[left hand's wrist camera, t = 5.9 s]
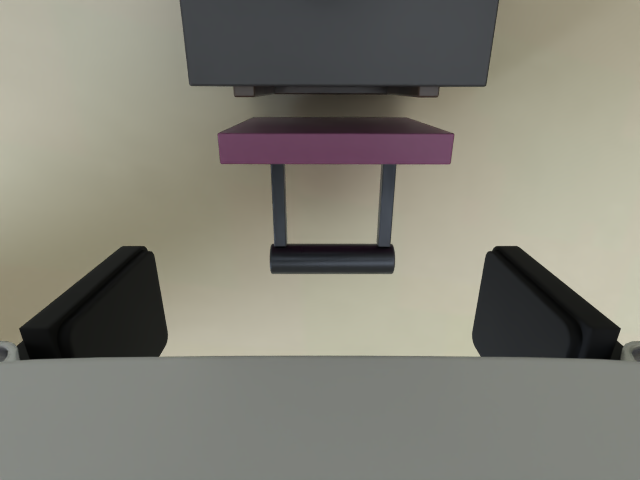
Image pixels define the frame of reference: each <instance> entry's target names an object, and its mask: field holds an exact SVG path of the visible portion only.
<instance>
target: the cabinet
mask: <svg viewBox="0 0 640 480" xmlns="http://www.w3.org/2000/svg"><path fill="white" fill-rule="evenodd" d="M498 3H499V0H180V7H181V16H182V24H183V33H184V42H185V51H186V59H187V68H188V77H189V84H190V86H388V87H484V86H486V83H487V77H488V70H489V63H490V57H491V50H492V43H493V37H494V30H495V23H496V17H497V10H498Z"/></svg>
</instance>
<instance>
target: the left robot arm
mask: <svg viewBox="0 0 640 480" xmlns="http://www.w3.org/2000/svg"><path fill="white" fill-rule="evenodd" d="M19 330H20V333H21V335H22V338H23V341H22V342H21V343H20V344H19V345H17V346H16V345H15V344H13V343H11V342H8V341H0V480H640V341H632V342H629V343H627V344H625V345H624V346H623V345H621V344H620V343H619V342H618V341H617V338H618V335H619V333H620V330H621V328H619V327H618V326H617V325H616V324H614V323H613V322H612V321H611V320H609V319H608V318H607V317H606V316H604V315H603V314H602V313H601V312H599V311H598V310H597V309H596V308H594V307H593V306H592V305H591V304H589V303H588V302H587V301H586V300H584V299H583V298H582V297H581V296H579V295H578V294H577V293H576V292H574V291H573V290H572V289H571V288H569V287H568V286H567V285H566V284H564V283H563V282H562V281H561V280H559V279H558V278H557V277H556V276H554V275H553V274H552V273H551V272H549V271H548V270H547V269H546V268H544V267H543V266H542V265H541V264H539V263H538V262H537V261H536V260H534V259H533V258H532V257H531V256H529V255H528V254H527V253H526V252H524V251H523V250H522V249H521V248H520V247H518V246H496V247H494V248H493V250H492V251H489V252H488V253H487V254H486V257H485V262H484V268H483V274H482V280H481V285H480V291H479V297H478V303H477V308H476V314H475V320H474V326H473V331H472V339H473V343H474V346H475V348H476V349H477V351H478V353H479V354H480V356H481V357H445V356H190V357H159V356H160V354H161V353H162V351H163V349H164V348H165V346H166V343H167V339H168V331H167V326H166V320H165V314H164V308H163V303H162V297H161V291H160V285H159V280H158V274H157V268H156V262H155V257H154V254H153V253H152V252H151V251H148V250H147V248H146V247H144V246H122V247H120V248H119V249H118V250H117V251H116V252H114V253H113V254H112V255H111V256H109V257H108V258H107V259H106V260H104V261H103V262H102V263H101V264H99V265H98V266H97V267H96V268H94V269H93V270H92V271H91V272H89V273H88V274H87V275H86V276H84V277H83V278H82V279H81V280H79V281H78V282H77V283H76V284H74V285H73V286H72V287H71V288H69V289H68V290H67V291H66V292H64V293H63V294H62V295H61V296H59V297H58V298H57V299H56V300H54V301H53V302H52V303H51V304H49V305H48V306H47V307H46V308H44V309H43V310H42V311H41V312H39V313H38V314H37V315H36V316H34V317H33V318H32V319H31V320H29V321H28V322H27V323H26V324H24V325H23V326H22V327H21V328H19Z"/></svg>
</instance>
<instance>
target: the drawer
mask: <svg viewBox="0 0 640 480" xmlns="http://www.w3.org/2000/svg"><path fill="white" fill-rule="evenodd" d="M233 88H234V96H235V97H257V96H264V95H271V94H390V95H400V96H411V97H438V96H439V87H388V86H233ZM453 140H454V134H453V133H450V132H447V131H444V130H441V129H439V128H436V127H433V126H430V125H427V124H424V123H421V122H418V121H415V120H412V119H409V118H370V117H253V118H251V119H248V120H246V121H244V122H242V123H240V124H238V125H235V126H233V127H231V128H229V129H227V130H224V131H222V132H220V133H218V144H219V155H220V163H221V164H271V181H272V203H273V225H274V244H272V245H271V249H270V270H271V273H272V274H392V273H393V271H394V267H395V252H394V247H393V245H392V244H390V242H391V229H392V216H393V203H394V189H395V176H396V164H450V163H451V156H452V148H453ZM285 164H381V179H380V195H379V212H378V228H377V244H287V217H286V185H285Z"/></svg>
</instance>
